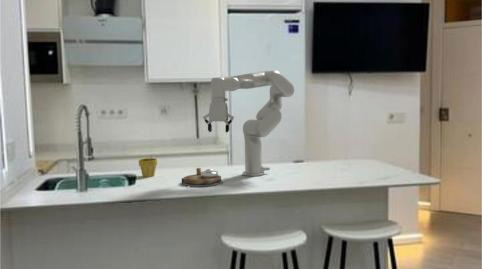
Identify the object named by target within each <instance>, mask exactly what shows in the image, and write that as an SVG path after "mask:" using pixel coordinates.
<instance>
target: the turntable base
mask: <svg viewBox="0 0 482 269" xmlns="http://www.w3.org/2000/svg"><path fill="white" fill-rule="evenodd" d="M183 178H184V177H182V178H181V185H182V186H184V185H185V187H188V186H190V187H189V188H208V187H209V188H210V187H216V186H220V185H222V184H223V183H224V180H223V179H222V178H221V181H220V182H218V183H214V184H204V185H194V184H187V183H184V180H183Z"/></svg>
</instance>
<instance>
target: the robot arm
mask: <svg viewBox="0 0 482 269" xmlns="http://www.w3.org/2000/svg"><path fill="white" fill-rule="evenodd" d="M210 82H211V83H210V88H211V89H210V90H211V91H210V94H211V97H210V98H211V99H210V100H211V101H210V104H209V109H208V114H206V115H204V116H202V118H203V120H204V122H205V123H206V125H207V131H208V133H211V132H212V130H213V129H212V128H213V126H212V125H213V124H212V123H213V122H224V123H225V133H229V131H230V125H231V123H232V122H233V120H234V118H235V116H234V115H231V114H230V113H229V109H228V108H229V107H228V103H227V101H228V100H229V99H228V98H227V97H226V92H234V91H237V90H242V89H243V90H249V89H257V88H262V87H268V86H269V100H268V101H267V102H266V103H265V104H264V105H263V106H262V107H261V108H260V109H259V111H257V113H256V115H255V117H256V119H248V120H246V121H245V122H244V123H243V125H242V133H243V138H244V168H245V171H242V175H243V176H247V177H259V176H263V175H265V172H266V171H270V170H271V167H269V166H263V164H262V140H261V138H265V137H268V135H270V134H271V132H273V131H274V129H276V128H277V127H278V126H279V124H280V123H281V120H282V113H281V109H282V106H283V101H282V98H290V97H292V96H293V95H294V93H295V87H294V85H293V84H292V82H290V80H288V79H287V78H286V76H284V75H283V74H281V73H280V72H279V71H278V70H266V71H258V72H257V71H256V72H250V73H245V74H239V75H233V76H225V77H212V78H211V80H210ZM207 118H208V119H207Z"/></svg>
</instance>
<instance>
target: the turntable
mask: <svg viewBox="0 0 482 269" xmlns="http://www.w3.org/2000/svg"><path fill="white" fill-rule="evenodd" d="M195 169H196V174H191V175H190V174H189V175H185V176H184V177H182V178H183V180H184V183H187V184H194V185H204V184H214V183H218V182H220V181H221V179H222V176H221V175H219V174H218V177H217V178H211V179H206V178H201V172H202V168H201V167H196V168H195Z"/></svg>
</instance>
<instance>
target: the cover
mask: <svg viewBox="0 0 482 269" xmlns="http://www.w3.org/2000/svg"><path fill="white" fill-rule="evenodd" d="M218 175H219V172H218V170H217V171H216V170H214V169H211V168H210V169H205V170H203V171H201V178H206V179H211V178H217V177H218Z"/></svg>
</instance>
